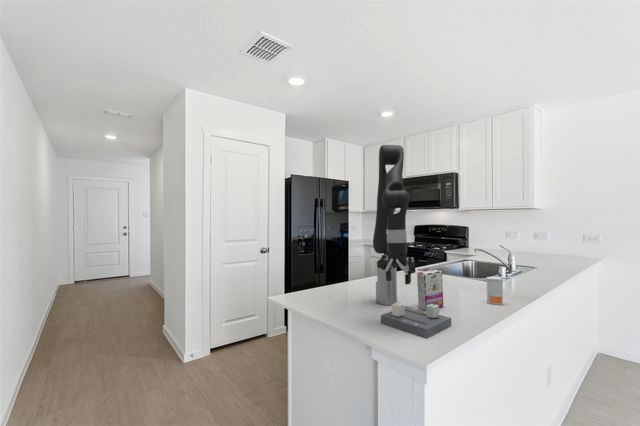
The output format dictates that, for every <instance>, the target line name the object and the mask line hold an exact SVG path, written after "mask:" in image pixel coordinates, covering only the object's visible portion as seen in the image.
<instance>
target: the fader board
mask: <svg viewBox="0 0 640 426" xmlns="http://www.w3.org/2000/svg"><path fill="white" fill-rule="evenodd" d="M404 313H405V314H404V315H401V316H399V317H398V316H394V315H392V310H391V311H388V312H387V313H386V312H385V313H384V314H381V315H380V324H382V325H386V326H389V327H392V328H395V329H398V330H400V331H404V332H407V333H411V334H413V335H416V336H420V337H422V338H424V339H428V338H430V337H432V336H434V335H436V334H438V333H440V332H443V331H444V330H446V329H448V328H449V327H452V317H451V316H450V317H449V316H445V315H443V314H442V315H441V314H439V316H438V317H435V318H431V317H427V316H426V311H425V310H422V309H420V308H415V307H412V306H411V307H410V306H405V305H404Z"/></svg>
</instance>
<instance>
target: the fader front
mask: <svg viewBox="0 0 640 426" xmlns="http://www.w3.org/2000/svg"><path fill="white" fill-rule="evenodd" d="M404 307H405V303H403V302H402V303H401V302H397V303H395V304H392V305H391V311H392V315H394V316H398V317H399V316H401V315H404V314H405V313H404Z"/></svg>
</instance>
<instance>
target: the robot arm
mask: <svg viewBox="0 0 640 426" xmlns="http://www.w3.org/2000/svg"><path fill="white" fill-rule="evenodd" d="M378 151H379V152H378V184H377V195H376V215H375V216H376V217H375V225H374V231H373V239H372V247H373V250H374V252H375V253H377V254H382V255H381V258H379V259H377V261H376V279H377V281H376V282H375V299H376V300H375V302H376V303H378V304H380V305H383V306H392V304H395V303H398V283H397V282H398V281H397V280H398V278H397V277H398V276H397V274H398V273H397V269H401V271H403V272H404V285H410V284H411V282H412V274H416V271H417V270H416V262H415V261H416V260H415V257H414V256H412V257H408V255H407V254H408V241H407V236H408V235H407V231H406V229H407V228H406V227H407V226H406V225H407V224H406V219H407V218H406V217H407V211H408V207H409V203H410V198H411V197H410V194H409V192H408V191H407V190H406V189H405V190H404V180H403V179H404V178H403V170H404V161H405V160H404V158H405V155H404V154H405V153H404V152H405V151H404V148H403V146H402V145H400V144H399V145H398V144H383V145H381V146H379V150H378ZM386 166H392V167H391V168H390V169H389V170H388V172H387V168H386ZM396 209H400V210H399V212H397V213H395V211H396Z"/></svg>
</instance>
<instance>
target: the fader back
mask: <svg viewBox="0 0 640 426" xmlns="http://www.w3.org/2000/svg"><path fill="white" fill-rule="evenodd" d="M439 315H440V308H439V305H435V304H430V305H427V306H426V316H427V317H431V318H435V317H438V316H439Z"/></svg>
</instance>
